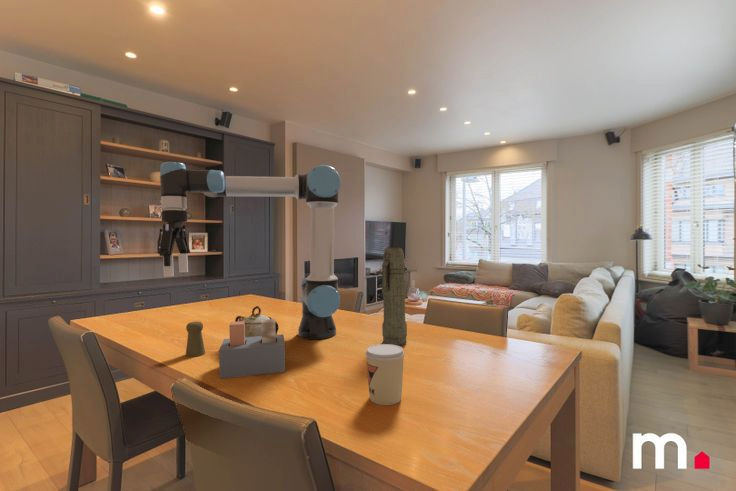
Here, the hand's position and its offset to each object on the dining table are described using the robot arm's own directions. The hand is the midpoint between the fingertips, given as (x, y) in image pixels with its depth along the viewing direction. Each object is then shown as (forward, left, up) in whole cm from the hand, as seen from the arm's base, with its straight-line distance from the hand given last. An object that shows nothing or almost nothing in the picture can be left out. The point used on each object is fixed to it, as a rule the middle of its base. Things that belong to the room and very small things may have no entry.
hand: (176, 274), depth 124 cm
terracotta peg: (-20, +19, -22) cm, 35 cm away
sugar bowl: (-25, -2, -28) cm, 37 cm away
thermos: (-74, +6, -28) cm, 79 cm away
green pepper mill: (-5, -1, -28) cm, 28 cm away
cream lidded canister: (-57, +50, -28) cm, 80 cm away
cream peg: (-29, +19, -22) cm, 41 cm away
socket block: (-25, +19, -28) cm, 41 cm away
